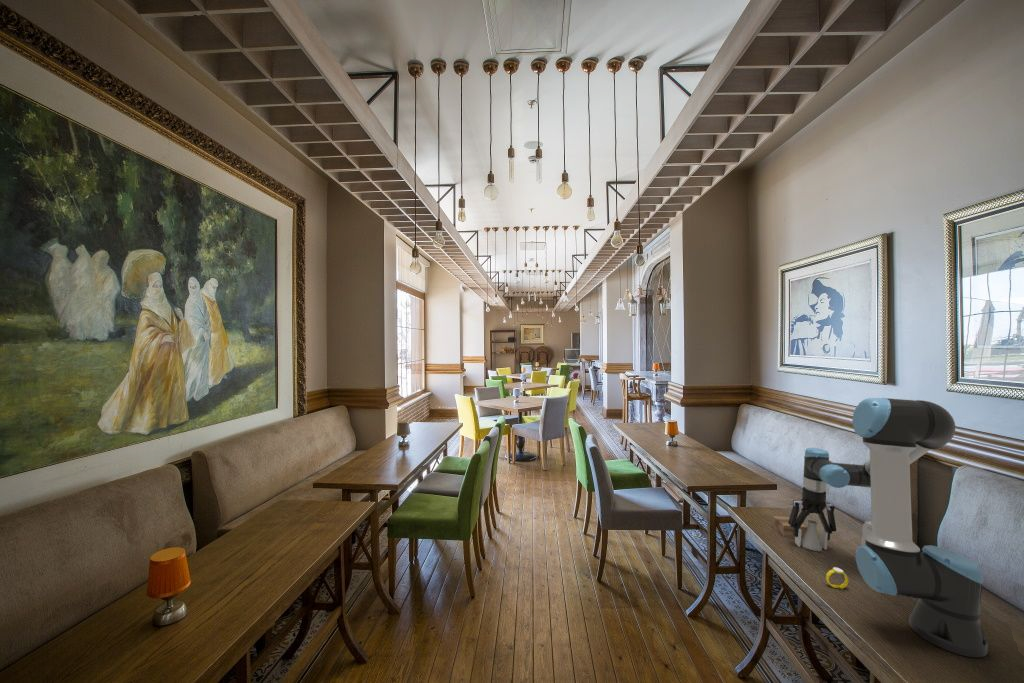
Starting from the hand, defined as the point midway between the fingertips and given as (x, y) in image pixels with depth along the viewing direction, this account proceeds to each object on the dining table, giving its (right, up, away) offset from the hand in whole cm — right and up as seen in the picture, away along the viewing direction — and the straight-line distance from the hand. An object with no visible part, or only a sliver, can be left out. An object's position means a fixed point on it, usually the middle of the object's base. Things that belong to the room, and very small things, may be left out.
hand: (810, 546), depth 165 cm
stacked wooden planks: (-1, 0, +11) cm, 11 cm away
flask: (0, 0, 0) cm, 0 cm away
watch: (-10, -1, -26) cm, 28 cm away
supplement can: (+14, -1, -13) cm, 19 cm away
